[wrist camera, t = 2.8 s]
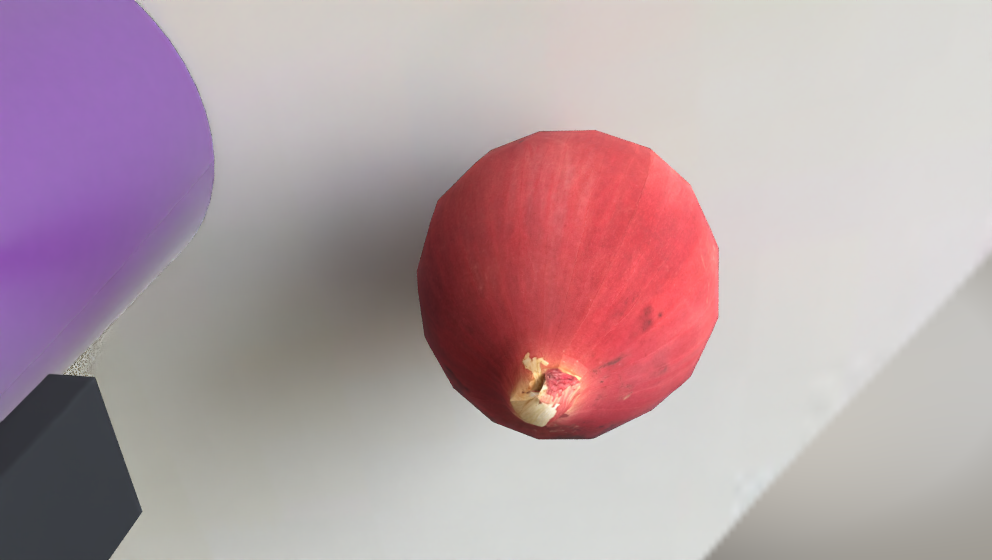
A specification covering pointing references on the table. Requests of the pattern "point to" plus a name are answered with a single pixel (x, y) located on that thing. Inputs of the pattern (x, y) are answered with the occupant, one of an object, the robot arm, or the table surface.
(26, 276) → the jar
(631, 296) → the onion
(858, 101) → the table surface
